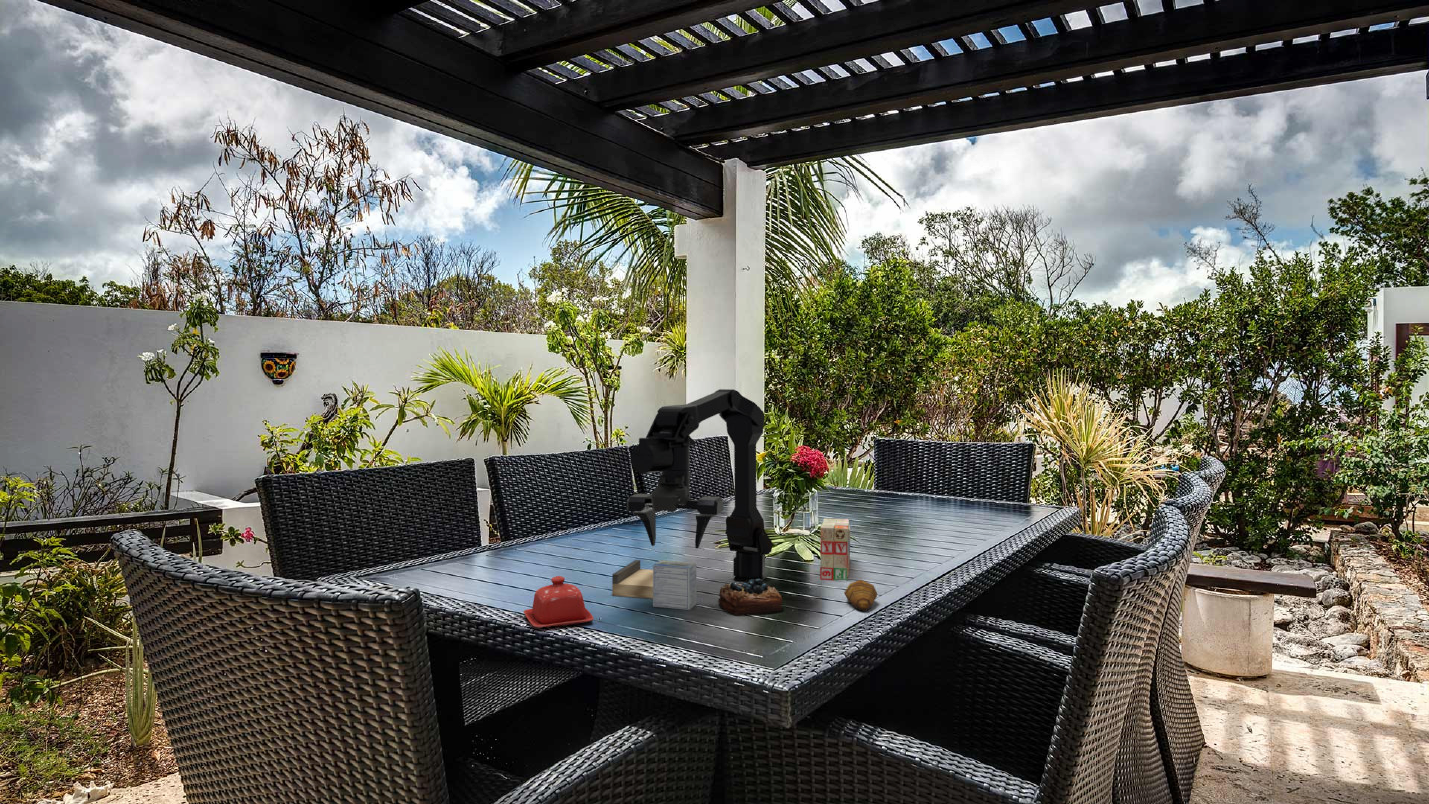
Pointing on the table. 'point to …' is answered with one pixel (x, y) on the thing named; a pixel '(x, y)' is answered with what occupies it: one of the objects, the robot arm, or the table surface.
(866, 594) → the croissant
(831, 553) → the stack of blocks
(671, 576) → the medicine box
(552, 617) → the butter dish
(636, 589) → the dock
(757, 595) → the pastry
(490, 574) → the table surface
